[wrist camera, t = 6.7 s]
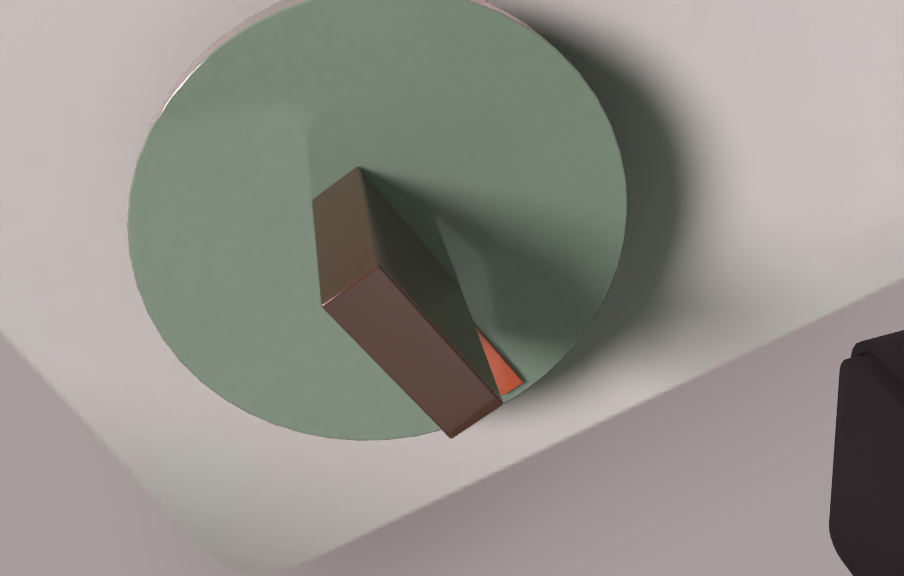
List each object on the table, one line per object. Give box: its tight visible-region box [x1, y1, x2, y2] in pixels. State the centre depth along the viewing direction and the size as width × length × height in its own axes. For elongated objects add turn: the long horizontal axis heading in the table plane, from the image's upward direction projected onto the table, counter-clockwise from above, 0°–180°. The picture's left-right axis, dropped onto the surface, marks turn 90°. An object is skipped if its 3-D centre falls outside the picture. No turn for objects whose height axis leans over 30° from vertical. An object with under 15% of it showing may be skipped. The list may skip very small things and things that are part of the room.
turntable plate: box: [127, 0, 627, 440], centre depth 22 cm, size 14×14×7 cm
